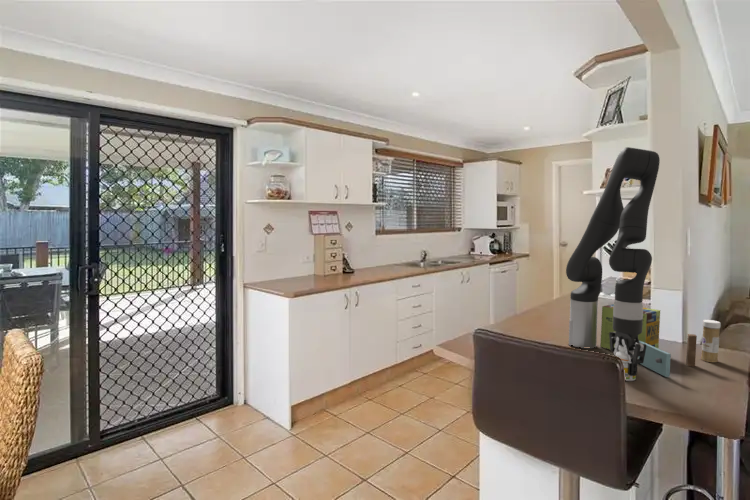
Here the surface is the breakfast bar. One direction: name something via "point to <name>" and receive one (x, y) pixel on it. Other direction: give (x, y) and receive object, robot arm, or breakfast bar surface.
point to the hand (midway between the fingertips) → (625, 371)
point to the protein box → (648, 328)
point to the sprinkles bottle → (710, 340)
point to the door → (656, 360)
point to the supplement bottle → (625, 362)
